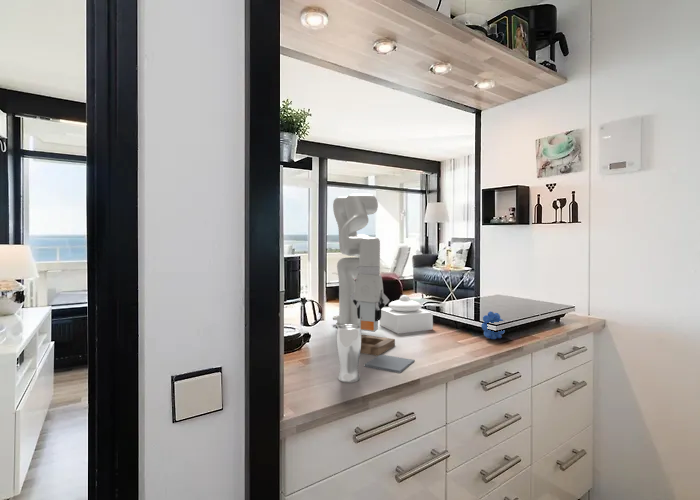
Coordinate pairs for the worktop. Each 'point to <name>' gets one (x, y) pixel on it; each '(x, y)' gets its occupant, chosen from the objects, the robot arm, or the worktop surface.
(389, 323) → the butter dish
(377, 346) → the walnut collar
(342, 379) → the beer glass
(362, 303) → the skincare box
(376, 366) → the slate mat
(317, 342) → the worktop surface
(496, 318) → the grapes
